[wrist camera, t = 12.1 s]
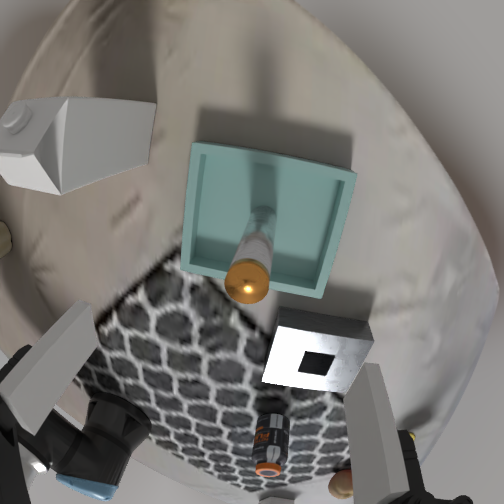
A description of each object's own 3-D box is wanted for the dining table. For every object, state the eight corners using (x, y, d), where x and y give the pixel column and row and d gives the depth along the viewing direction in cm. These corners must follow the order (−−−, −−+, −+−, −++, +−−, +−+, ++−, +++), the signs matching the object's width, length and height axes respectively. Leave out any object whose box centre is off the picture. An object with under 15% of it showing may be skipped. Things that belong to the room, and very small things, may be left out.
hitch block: (264, 361, 40) (262, 381, 37) (279, 306, 36) (278, 325, 33) (342, 372, 40) (345, 392, 36) (368, 321, 36) (374, 341, 32)
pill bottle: (267, 408, 45) (260, 463, 35) (296, 418, 46) (294, 472, 35) (251, 422, 48) (243, 473, 37) (278, 432, 48) (274, 481, 38)
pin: (248, 228, 32) (222, 298, 19) (252, 203, 31) (227, 260, 18) (274, 233, 32) (264, 307, 19) (279, 208, 30) (272, 270, 18)
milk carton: (148, 164, 31) (23, 213, 14) (100, 157, 31) (-26, 198, 14) (158, 103, 28) (26, 96, 11) (106, 100, 28) (-25, 105, 11)
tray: (188, 258, 35) (180, 269, 32) (201, 140, 29) (192, 142, 27) (319, 285, 34) (321, 299, 32) (351, 169, 29) (357, 174, 26)
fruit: (365, 468, 54) (367, 494, 47) (341, 478, 57) (341, 503, 50) (347, 463, 53) (348, 490, 45) (321, 473, 56) (321, 499, 49)
